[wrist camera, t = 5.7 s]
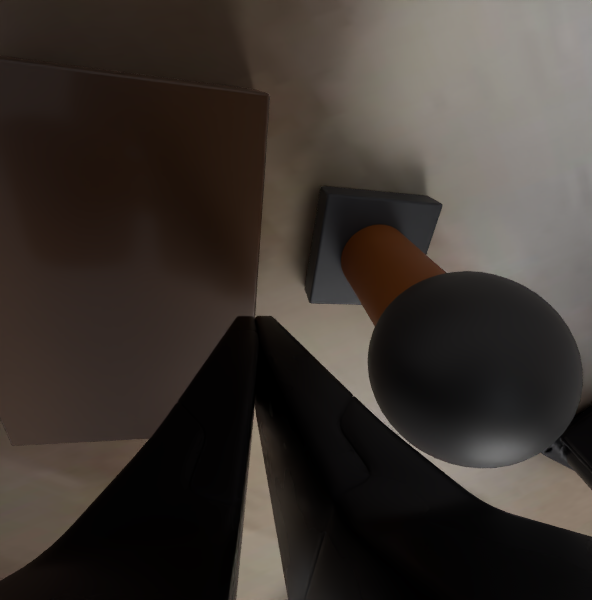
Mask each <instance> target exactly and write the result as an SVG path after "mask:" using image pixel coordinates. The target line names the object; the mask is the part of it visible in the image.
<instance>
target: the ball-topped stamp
mask: <svg viewBox="0 0 592 600" xmlns="http://www.w3.org/2000/svg"><path fill="white" fill-rule="evenodd" d="M441 209H442V204H441V203H439V202H438V201H436V200H434V199H432V198H431V197H429V196H425V195H414V194H403V193H393V192H382V191H371V190H361V189H350V188H339V187H329V186H322V187H321V188H320V194H319V200H318V206H317V213H316V219H315V226H314V232H313V238H312V245H311V251H310V257H309V264H308V270H307V277H306V283H305V292H306V294H307V297H308V300H309V302H310V303H316V304H355V305H363V307H364V309H365V311H366V312H367V314H368V316H369V317H370V319H371V321H372V322H373V324H374V326H375V328H374V331H373V334H372V337H371V340H370V344H369V352H368V372H369V379H370V383H371V388H372V390H373V393H374V396H375V398H376V401H377V403H378V405H379V407H380V409H381V411H382V413H383V414H384V415H385V417H386V418H387V420H388V421H389V422H390V424H391V425H392V426H393V427H394V428H395V429H396V430H397V431H398V432H399V434H400V435H401V436H403V437H404V438H405V439H406V440H407V441H408V442H410V443H411V444H412V445H414V446H415V447H417V448H418V449H420V450H421V451H423V452H425V453H427V454H428V455H430V456H432V457H434V458H437V459H439V460H442V461H445V462H448V463H451V464H455V465H459V466H464V467H473V468H497V467H503V466H509V465H513V464H516V463H519V462H522V461H525V460H527V459H529V458H531V457H533V456H535V455H538V454H539V453H541V452H542V451H543V450H545V449H546V448H548V447H549V446H551V445H552V444H553V443H554V442H555V441H556V440H557V439H558V438H559V437H560V436H561V435H562V434H563V433H564V431H565V430H566V429H567V427H568V426H569V424H570V422H571V421H572V419H573V417H574V415H575V413H576V410H577V407H578V405H579V402H580V398H581V392H582V386H583V369H582V363H581V357H580V353H579V350H578V347H577V344H576V341H575V339H574V337H573V335H572V333H571V331H570V329H569V328H568V326H567V325H566V323H565V322H564V320H563V319H562V318H561V316H560V315H559V314H558V313H557V312H556V310H555V309H554V308H553V307H552V306H551V305H550V304H549V303H548V302H546V301H545V300H544V299H543V298H542V297H540V296H539V295H538V294H536V293H535V292H533V291H532V290H530V289H528V288H527V287H525V286H523V285H521V284H519V283H517V282H514V281H512V280H510V279H507V278H504V277H501V276H497V275H494V274H488V273H483V272H472V271H463V272H451V273H446V272H445V271H444V270H443V269H441V268H440V267H439V266H438V265H437V264H436V263H435V262H433V261H432V260H431V259H430V258H429V257H428V256H427V255H426V254H427V251H428V248H429V245H430V242H431V239H432V236H433V233H434V230H435V227H436V224H437V221H438V218H439V215H440V212H441Z"/></svg>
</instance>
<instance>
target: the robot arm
mask: <svg viewBox="0 0 592 600" xmlns="http://www.w3.org/2000/svg"><path fill="white" fill-rule="evenodd" d="M352 396H353V395H352V393H351V392H350V391H348V390H347V389H346V388H345V387H344V386H343V385H342V384H341V383H340V382H339V381H338V380H337V379H336V378H335V377H334V376H333V375H332V374H331V373H330V372H329V371H328V370H327V369H326V368H325V367H324V366H323V365H322V364H321V363H320V362H319V361H318V360H317V359H316V358H315V357H314V356H313V355H311V354H310V353H309V352H308V351H307V350H306V349H305V348H304V347H303V346H302V345H301V344H300V343H299V342H298V341H297V340H296V339H295V338H294V337H293V336H292V335H291V334H290V333H289V332H288V331H287V330H286V329H285V328H284V327H283V326H282V325H281V324H280V323H279V322H278V321H277V320H276V319H274V318H273V317H272V316H257V317H255V318H254V317H253V316H237V317H236V318H235V320H234V321H233V323H232V324H231V326H230V327H229V328H228V330H227V331H226V333H225V334H224V336H223V337H222V338H221V340H220V341H219V343H218V344H217V346H216V347H215V348H214V350H213V351H212V353H211V354H210V356H209V357H208V358H207V360H206V361H205V363H204V364H203V366H202V367H201V368H200V370H199V371H198V373H197V374H196V376H195V377H194V378H193V380H192V381H191V383H190V384H189V386H188V387H187V388H186V390H185V391H184V393H183V394H182V396H181V397H180V398H179V400H178V403H176V404H175V405H174V407H173V408H172V410H171V411H170V412H169V414H168V415H167V417H166V418H165V419H164V421H163V422H162V423H161V425H160V426H159V427H158V429H157V430H156V431H155V433H154V434H153V435H152V437H151V438H150V439H149V440H148V441H147V442H146V444H145V445H144V446H143V447H142V448H141V449H140V451H139V452H138V453H137V454H136V455H135V456H134V457H133V459H132V460H131V461H130V462H129V463H128V464H127V465H126V466H125V468H124V469H123V470H122V471H121V472H120V473H119V474H118V475H117V476H116V477H115V479H114V480H113V481H112V482H111V483H110V484H109V485H108V486H107V487H106V488H105V490H104V491H103V492H102V493H101V494H100V495H99V496H98V497H97V498H96V500H95V501H94V502H93V503H92V504H91V505H90V506H89V507H88V508H87V509H86V511H85V512H84V513H83V514H82V515H81V516H80V517H79V518H78V519H77V520H76V522H75V523H74V524H73V525H72V526H71V527H70V528H69V529H68V530H67V531H66V532H65V533H64V534H63V535H62V536H61V537H60V538H59V539H58V540H57V541H56V542H55V543H54V544H53V545H52V546H50V547H49V548H48V549H47V550H46V551H44V552H43V553H42V554H41V555H39V556H38V557H37V558H36V559H34V560H33V561H32V562H30V563H29V564H27V565H26V566H25V567H23V568H21V569H20V570H18V571H16V572H15V573H13V574H11V575H9V576H8V577H6V578H4V579H2V580H1V581H0V600H236V596H237V586H238V575H239V565H240V554H241V544H242V533H243V523H244V512H245V502H246V492H247V481H248V471H249V460H250V450H251V439H252V429H253V418H254V406H255V410H256V417H257V422H258V428H259V434H260V440H261V446H262V451H263V457H264V463H265V469H266V474H267V480H268V486H269V492H270V497H271V503H272V509H273V515H274V520H275V526H276V532H277V538H278V543H279V549H280V555H281V561H282V566H283V572H284V578H285V584H286V590H287V595H288V600H592V537H591V536H587V535H584V534H580V533H577V532H573V531H570V530H566V529H563V528H559V527H556V526H552V525H549V524H545V523H542V522H538V521H535V520H531V519H528V518H524V517H521V516H517V515H514V514H510V513H507V512H505V511H502V510H500V509H497V508H495V507H493V506H491V505H489V504H487V503H485V502H483V501H482V500H480V499H479V498H477V497H475V496H474V495H472V494H471V493H469V492H468V491H467V490H465V489H464V488H463V487H461V486H460V485H459V484H458V483H456V482H455V481H454V480H453V479H451V478H450V477H449V476H448V475H446V474H445V473H444V472H443V471H441V470H440V469H439V468H438V467H436V466H435V465H434V464H433V463H431V462H430V461H429V460H428V459H426V458H425V457H424V456H423V455H421V454H420V453H419V452H418V451H416V450H415V449H414V448H413V447H411V446H410V445H409V444H408V443H406V442H405V441H404V440H403V439H401V438H400V437H399V436H398V435H397V434H395V433H394V432H393V431H392V430H391V429H389V428H388V427H387V426H386V425H385V424H384V423H382V422H381V421H380V420H379V419H378V418H377V417H376V416H375V415H374V414H373V413H372V412H371V411H369V410H368V409H367V408H366V407H365V406H364V405H363V404H362V403H361V402H360V401H359V400H358V399H357V398H356V397H354V396H353V397H352ZM541 453H542V454H543V455H545V456H547V457H549V458H551V459H553V460H555V461H557V462H558V463H560V464H562V465H564V466H566V467H568V468H570V469H572V470H574V471H575V472H576V473H577V474H578V475H579V476H580V477H581V478H582V480H583V481H584V482H585V483H586V484H587V485H588V486H589V487H590V489H591V490H592V406H591V407H590V408H588V409H587V410H585V411H584V412H583V413H581V414H580V415H579V416H577V417H576V418H574V419H573V420H572V421H571V422H570V424H569V426H568V427H567V429H566V430H565V431H564V433H563V434H562V435H561V436H560V437H559V438H558V439H557V440H556V441H555V442H554V443H553V444H552V445H551V446H549V447H548V448H546V449H545V450H543V451H542V452H541Z"/></svg>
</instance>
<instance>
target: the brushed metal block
mask: <svg viewBox="0 0 592 600" xmlns="http://www.w3.org/2000/svg"><path fill="white" fill-rule="evenodd" d="M269 102H270V96H269V94H268V93H266V92H262V91H259V90H255V89H250V88H242V87H235V86H227V85H220V84H212V83H204V82H197V81H189V80H181V79H174V78H166V77H159V76H151V75H143V74H136V73H128V72H120V71H113V70H105V69H98V68H90V67H82V66H75V65H67V64H60V63H52V62H44V61H37V60H29V59H21V58H14V57H6V56H0V419H1V422H2V424H3V426H4V428H5V431H6V433H7V435H8V438H9V440H10V442H11V444H12V445H13V446H20V445H38V444H57V443H76V442H94V441H113V440H132V439H150V438H151V437H152V435H153V434H154V433H155V431H156V430H157V429H158V427H159V426H160V425H161V423H162V422H163V421H164V419H165V418H166V417H167V415H168V414H169V412H170V411H171V410H172V408H173V407H174V405H175V404H176V403H178V400H179V398H180V397H181V396H182V394H183V393H184V391H185V390H186V388H187V387H188V386H189V384H190V383H191V381H192V380H193V378H194V377H195V376H196V374H197V373H198V371H199V370H200V368H201V367H202V366H203V364H204V363H205V361H206V360H207V358H208V357H209V356H210V354H211V353H212V351H213V350H214V348H215V347H216V346H217V344H218V343H219V341H220V340H221V338H222V337H223V336H224V334H225V333H226V331H227V330H228V328H229V327H230V326H231V324H232V323H233V321H234V320H235V318H236V317H237V316H253V317H254V318H255V309H256V294H257V279H258V264H259V250H260V235H261V220H262V205H263V191H264V176H265V161H266V146H267V132H268V117H269Z"/></svg>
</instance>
